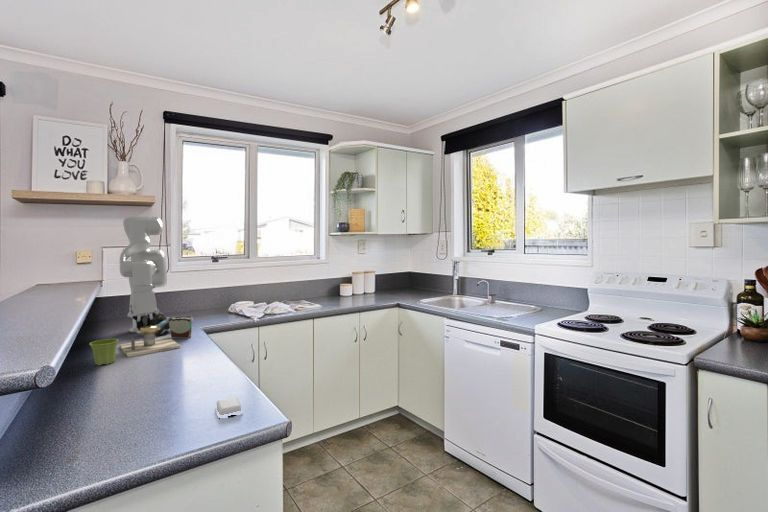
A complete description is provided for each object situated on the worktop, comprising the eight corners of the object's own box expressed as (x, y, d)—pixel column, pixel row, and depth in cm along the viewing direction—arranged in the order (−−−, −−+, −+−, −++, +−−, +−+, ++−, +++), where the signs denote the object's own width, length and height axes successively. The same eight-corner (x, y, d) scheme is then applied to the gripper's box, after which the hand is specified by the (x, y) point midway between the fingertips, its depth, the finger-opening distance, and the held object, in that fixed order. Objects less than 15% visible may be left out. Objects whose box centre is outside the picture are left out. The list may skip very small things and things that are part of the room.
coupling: (132, 329, 184) (131, 316, 184) (154, 326, 190) (153, 313, 190) (139, 334, 175) (138, 320, 175) (162, 330, 182) (161, 317, 181)
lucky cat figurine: (157, 337, 199) (141, 313, 197) (144, 344, 205) (128, 320, 203) (181, 322, 212) (166, 300, 210) (168, 329, 218) (153, 307, 216)
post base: (119, 347, 182) (119, 331, 182) (168, 339, 195) (168, 324, 195) (127, 357, 167) (126, 340, 167) (180, 347, 180) (179, 332, 180)
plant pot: (85, 365, 158) (84, 343, 157) (111, 358, 166) (110, 337, 166) (98, 368, 153) (97, 346, 153) (124, 361, 162) (123, 340, 161)
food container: (199, 335, 203) (198, 315, 203) (192, 338, 197) (191, 317, 196) (175, 334, 204) (175, 315, 204) (168, 337, 198) (167, 317, 198)
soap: (214, 409, 117) (213, 399, 117) (238, 404, 121) (238, 394, 120) (218, 421, 109) (217, 411, 109) (244, 415, 113) (244, 405, 113)
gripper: (158, 286, 194) (160, 324, 195) (119, 290, 181) (121, 330, 182) (165, 287, 189) (166, 326, 190) (125, 291, 176) (127, 333, 177)
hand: (144, 328), depth 186 cm, fingers closed on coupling, 3 cm apart
